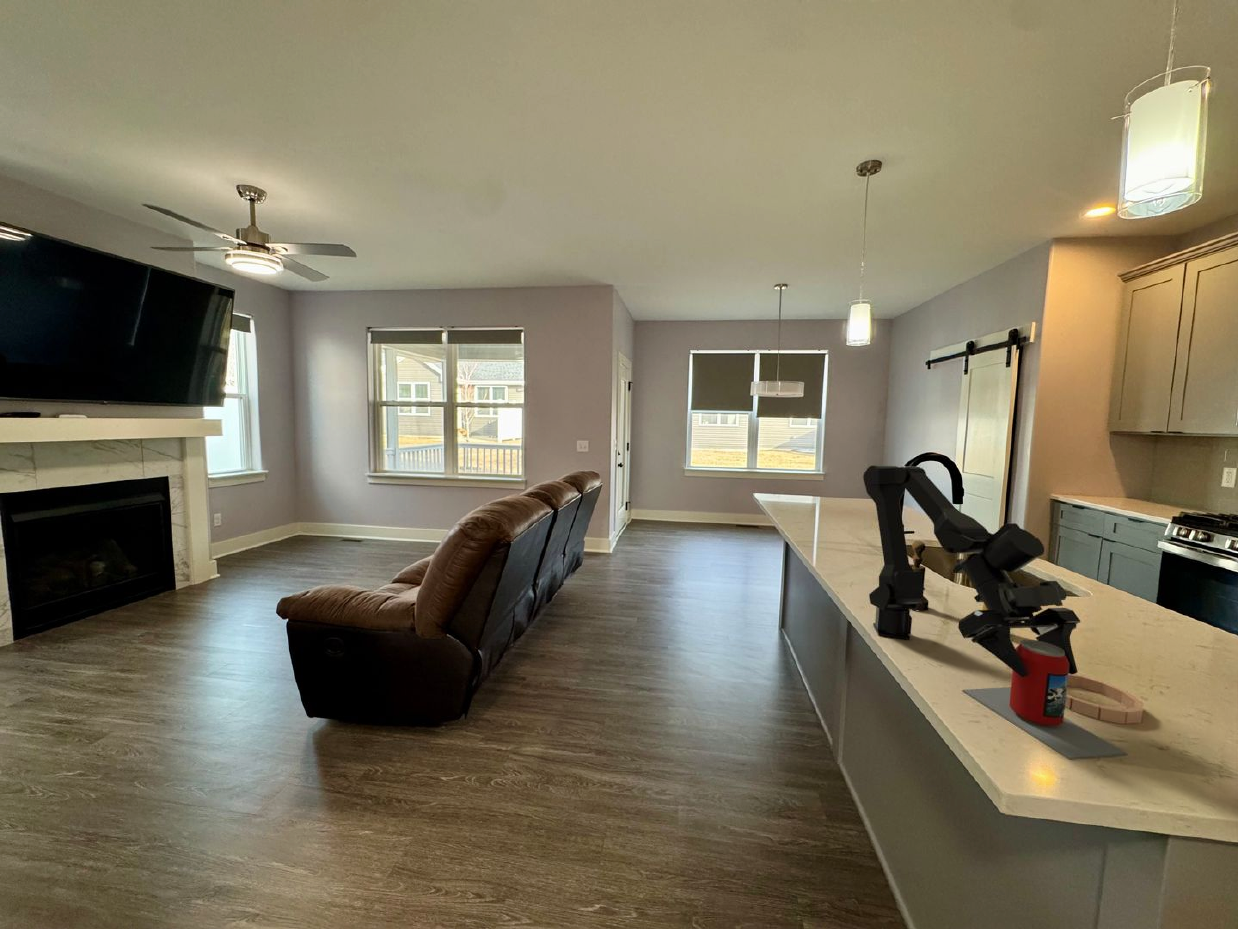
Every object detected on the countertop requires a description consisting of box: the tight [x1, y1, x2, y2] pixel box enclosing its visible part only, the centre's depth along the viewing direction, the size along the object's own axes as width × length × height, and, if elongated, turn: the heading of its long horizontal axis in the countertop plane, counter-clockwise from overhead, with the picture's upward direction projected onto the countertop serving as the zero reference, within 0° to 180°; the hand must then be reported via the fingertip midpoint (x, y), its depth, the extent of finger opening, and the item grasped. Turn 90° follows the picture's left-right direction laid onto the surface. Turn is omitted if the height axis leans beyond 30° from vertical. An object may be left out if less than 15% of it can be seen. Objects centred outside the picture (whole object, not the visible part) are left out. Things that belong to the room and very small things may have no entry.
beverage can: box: [1009, 639, 1069, 726], centre depth 78 cm, size 7×7×12 cm
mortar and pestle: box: [909, 540, 929, 612], centre depth 129 cm, size 7×6×18 cm
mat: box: [961, 686, 1128, 760], centre depth 79 cm, size 18×10×1 cm, turn 9°
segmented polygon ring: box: [1065, 673, 1144, 725], centre depth 85 cm, size 13×13×2 cm
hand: (1050, 675), depth 77 cm, fingers open, 9 cm apart
